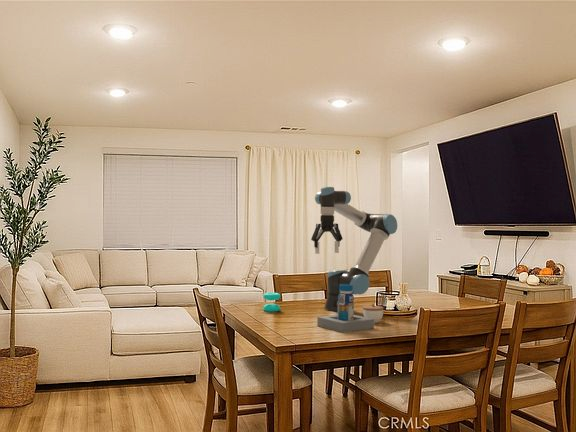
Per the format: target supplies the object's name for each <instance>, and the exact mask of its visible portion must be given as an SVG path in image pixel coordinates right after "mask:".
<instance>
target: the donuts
mask: <svg viewBox="0 0 576 432" xmlns="http://www.w3.org/2000/svg"><path fill="white" fill-rule="evenodd" d="M262 298H263V299H265V300H266V301H277V300H279V299H280V298H281V294H280V293H278V292H265V293H263V295H262ZM262 310H263V311H264V312H267V311H268V312H270V313H271V312H272V313H274V312H275V313H276V312H279V311H281V307H280V305H279V304H276V303H268V304H265V305H263V308H262Z"/></svg>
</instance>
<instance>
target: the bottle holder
mask: <svg viewBox="0 0 576 432" xmlns="http://www.w3.org/2000/svg"><path fill="white" fill-rule="evenodd" d="M337 319H338V314H333V315H332V314H331V315H325V316H323V315H322V316H317V324H316V325H317V327H321V328H324V329H328V330H332V331H336V332H339V333H349V332H350V331H351V332H355V331H356V332H357V330H358V331H364V330H363V329H365V330H371V329H370V328H373V329H374V328H375V323H374V319H371V318H366V317H364V316H361V315H356V314H354V316H353V320H349V321H342V320H337Z"/></svg>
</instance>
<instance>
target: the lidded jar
mask: <svg viewBox="0 0 576 432" xmlns="http://www.w3.org/2000/svg"><path fill="white" fill-rule="evenodd" d="M362 313H363V317H366V318H371V319H374V324H375V323H376V324H377V322H378V323H380V321H381V320H382V318H383V317H384V316H383V315H384V307H383V306H381V305H375V304H374V303H372V304H371V305H364V306H362Z"/></svg>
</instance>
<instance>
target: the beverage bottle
mask: <svg viewBox="0 0 576 432" xmlns="http://www.w3.org/2000/svg"><path fill="white" fill-rule="evenodd" d="M339 290H340V291H341V292H340V294H339V295H338V302H337V305H338V311H337V315H338V319H337V320H342V321H349V320H353V316H354V315H355V313H354V311H355V308H354V307H355V301H354V300H355V296H354V294H352V293H351V292H352V291H353V285H351V284H340V286H339Z"/></svg>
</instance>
